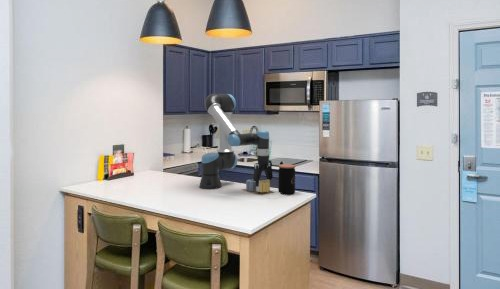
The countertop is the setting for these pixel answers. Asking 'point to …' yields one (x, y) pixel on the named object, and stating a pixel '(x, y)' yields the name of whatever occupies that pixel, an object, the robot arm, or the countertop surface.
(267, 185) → the gear
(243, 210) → the countertop surface
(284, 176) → the coffee jar
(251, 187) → the gear
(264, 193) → the gear board
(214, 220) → the countertop surface
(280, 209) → the countertop surface
